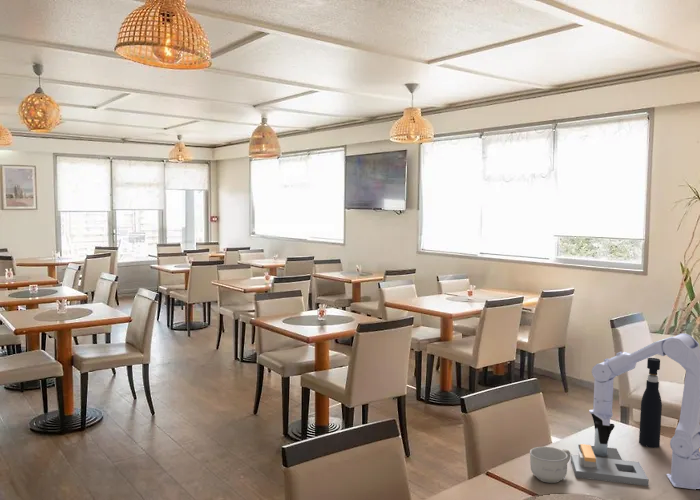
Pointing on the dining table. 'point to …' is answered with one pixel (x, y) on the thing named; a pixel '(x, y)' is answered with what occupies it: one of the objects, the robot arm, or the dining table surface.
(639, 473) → the housing
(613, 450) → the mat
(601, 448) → the cylinder
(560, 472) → the teacup
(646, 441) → the black bottle
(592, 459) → the plunger
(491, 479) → the dining table surface
